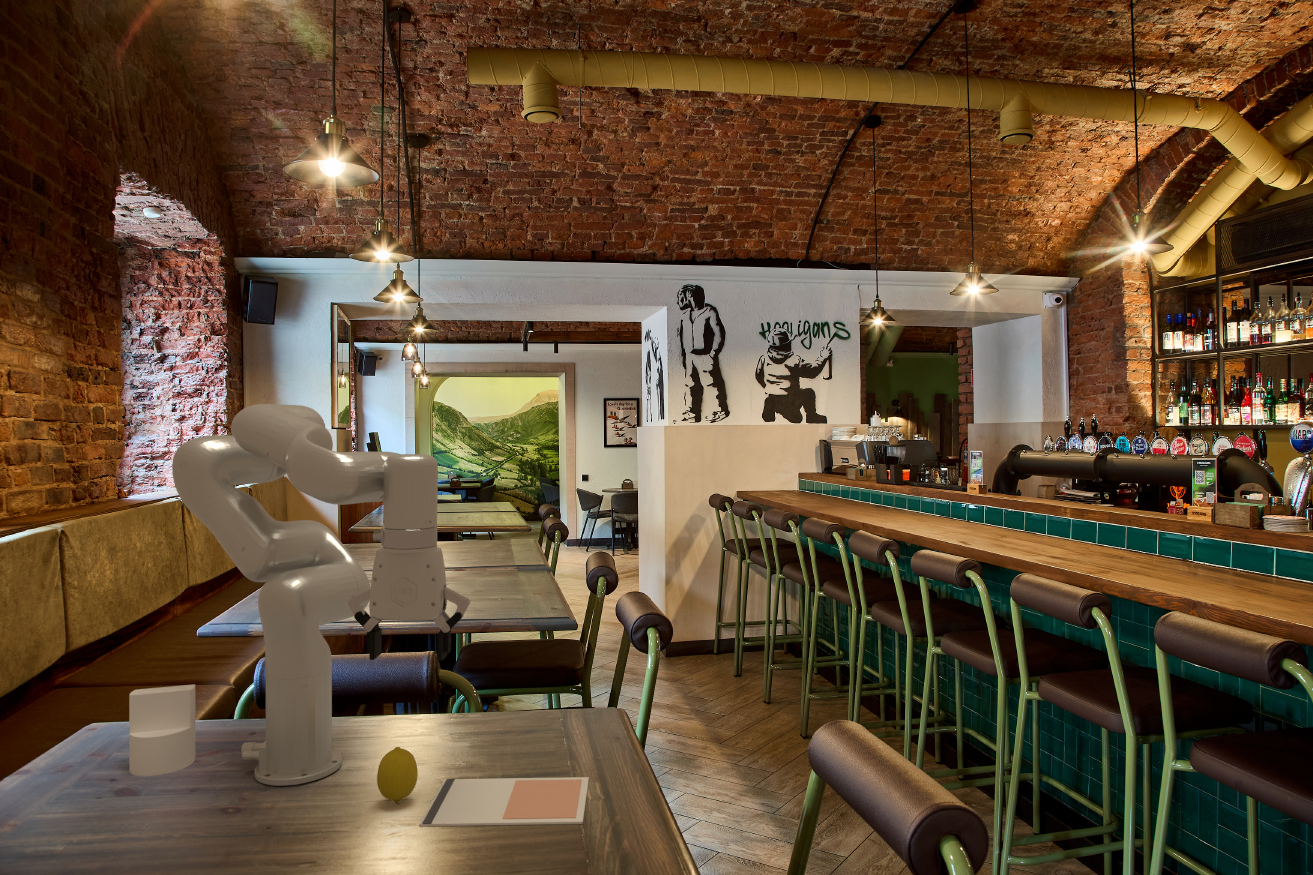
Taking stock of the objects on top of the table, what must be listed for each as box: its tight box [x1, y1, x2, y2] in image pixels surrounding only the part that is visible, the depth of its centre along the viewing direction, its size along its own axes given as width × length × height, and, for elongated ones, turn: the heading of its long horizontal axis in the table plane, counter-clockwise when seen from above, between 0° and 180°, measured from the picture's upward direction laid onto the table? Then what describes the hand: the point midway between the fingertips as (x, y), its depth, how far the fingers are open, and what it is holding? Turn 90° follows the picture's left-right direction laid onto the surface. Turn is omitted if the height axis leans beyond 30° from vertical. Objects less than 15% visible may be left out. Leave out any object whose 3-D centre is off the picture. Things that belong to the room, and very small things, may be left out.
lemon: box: [376, 746, 419, 804], centre depth 112 cm, size 6×6×8 cm
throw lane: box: [418, 776, 590, 827], centre depth 113 cm, size 22×14×1 cm, turn 92°
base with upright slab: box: [128, 684, 196, 777], centre depth 126 cm, size 9×9×12 cm
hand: (409, 657), depth 113 cm, fingers open, 9 cm apart
